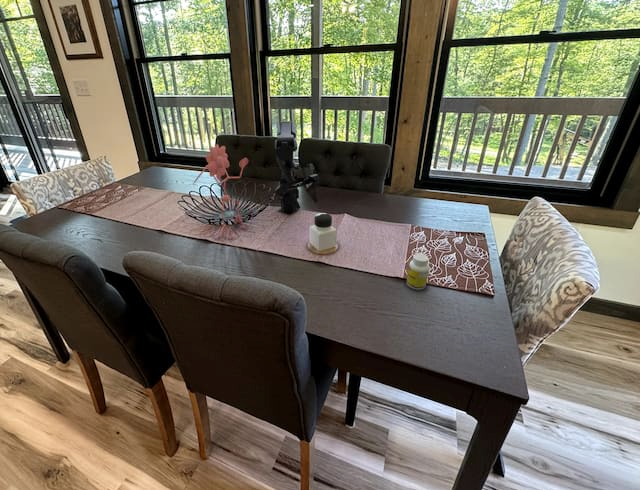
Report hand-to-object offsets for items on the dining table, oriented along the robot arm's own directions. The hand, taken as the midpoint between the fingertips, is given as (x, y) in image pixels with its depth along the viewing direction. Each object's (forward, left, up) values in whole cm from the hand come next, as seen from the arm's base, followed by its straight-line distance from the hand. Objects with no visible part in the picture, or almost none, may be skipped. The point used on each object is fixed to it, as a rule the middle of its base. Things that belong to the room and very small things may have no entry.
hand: (308, 205), depth 114 cm
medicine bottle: (+8, -2, -13) cm, 15 cm away
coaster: (+8, -2, -13) cm, 16 cm away
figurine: (-30, -17, -14) cm, 37 cm away
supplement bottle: (+42, -2, -14) cm, 44 cm away
